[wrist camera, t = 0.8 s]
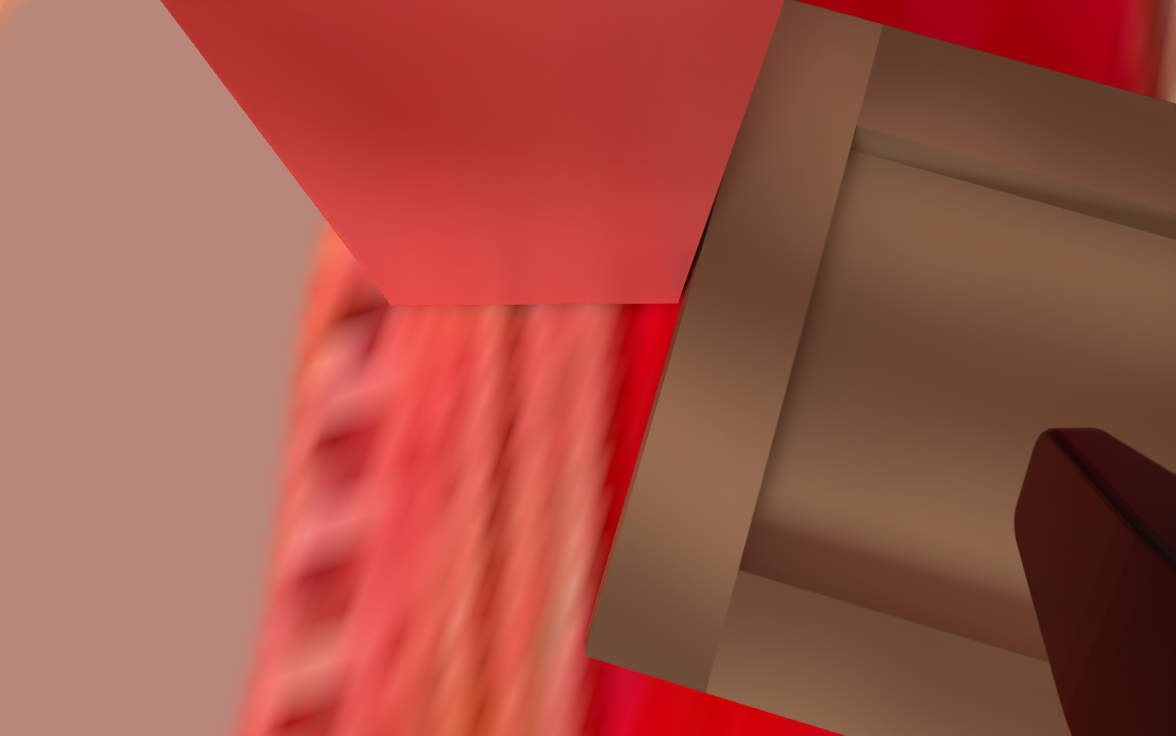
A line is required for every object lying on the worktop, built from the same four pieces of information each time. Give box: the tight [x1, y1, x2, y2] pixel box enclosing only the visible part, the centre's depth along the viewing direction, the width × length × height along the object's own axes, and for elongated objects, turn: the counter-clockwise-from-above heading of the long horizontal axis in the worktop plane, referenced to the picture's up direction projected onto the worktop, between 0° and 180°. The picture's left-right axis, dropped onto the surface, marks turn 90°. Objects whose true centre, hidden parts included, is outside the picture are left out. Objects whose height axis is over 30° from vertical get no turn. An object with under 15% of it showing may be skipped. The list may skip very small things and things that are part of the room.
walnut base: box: [585, 0, 1176, 736], centre depth 20 cm, size 12×12×4 cm
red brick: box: [161, 0, 785, 306], centre depth 16 cm, size 6×6×12 cm
